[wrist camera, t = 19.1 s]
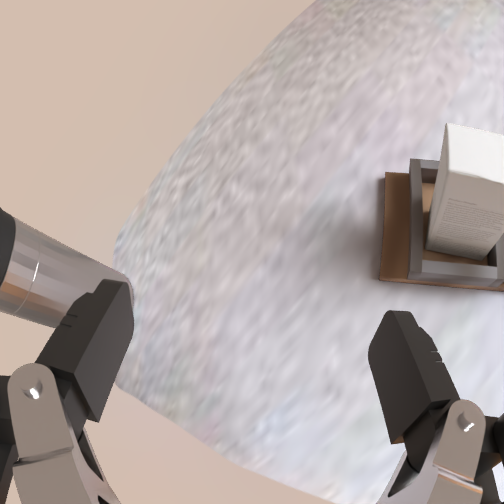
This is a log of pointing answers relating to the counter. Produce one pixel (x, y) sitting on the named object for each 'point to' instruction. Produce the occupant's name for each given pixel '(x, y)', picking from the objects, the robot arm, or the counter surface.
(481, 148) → the skincare box
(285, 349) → the counter surface
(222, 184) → the counter surface
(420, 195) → the locating plate
